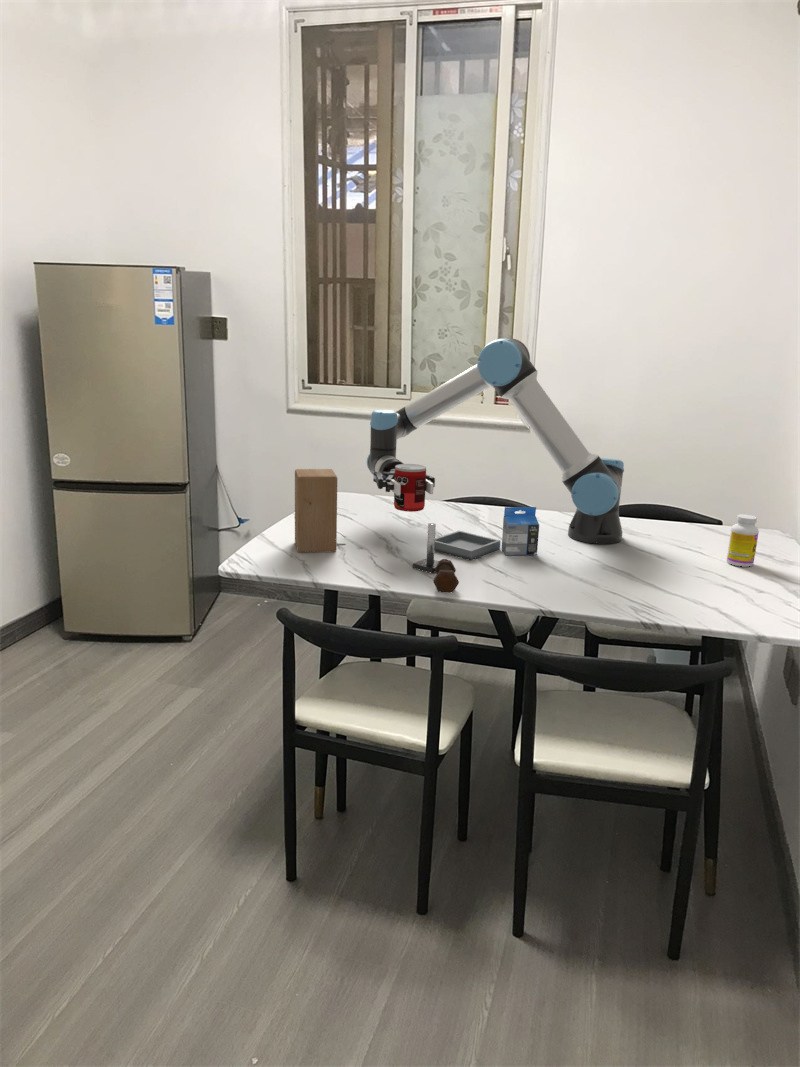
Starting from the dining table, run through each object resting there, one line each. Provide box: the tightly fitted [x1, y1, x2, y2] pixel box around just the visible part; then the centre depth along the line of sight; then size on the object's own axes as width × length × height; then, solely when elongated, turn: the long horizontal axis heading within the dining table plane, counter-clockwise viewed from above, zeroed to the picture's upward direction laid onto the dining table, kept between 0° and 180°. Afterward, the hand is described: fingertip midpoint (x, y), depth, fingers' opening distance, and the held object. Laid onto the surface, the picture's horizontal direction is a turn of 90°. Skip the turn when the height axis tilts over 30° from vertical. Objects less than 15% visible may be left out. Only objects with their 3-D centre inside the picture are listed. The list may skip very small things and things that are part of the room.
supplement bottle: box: [725, 513, 760, 568], centre depth 206 cm, size 7×7×13 cm
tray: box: [434, 530, 502, 562], centre depth 210 cm, size 14×14×3 cm
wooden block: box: [294, 468, 338, 553], centre depth 205 cm, size 10×10×20 cm
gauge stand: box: [412, 522, 440, 574], centre depth 193 cm, size 6×6×11 cm
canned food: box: [393, 463, 427, 513], centre depth 203 cm, size 8×8×11 cm
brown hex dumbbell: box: [432, 558, 460, 594], centre depth 185 cm, size 6×5×15 cm
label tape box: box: [501, 506, 540, 556], centre depth 208 cm, size 9×4×12 cm, turn 99°
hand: (415, 489), depth 198 cm, fingers closed on canned food, 8 cm apart
